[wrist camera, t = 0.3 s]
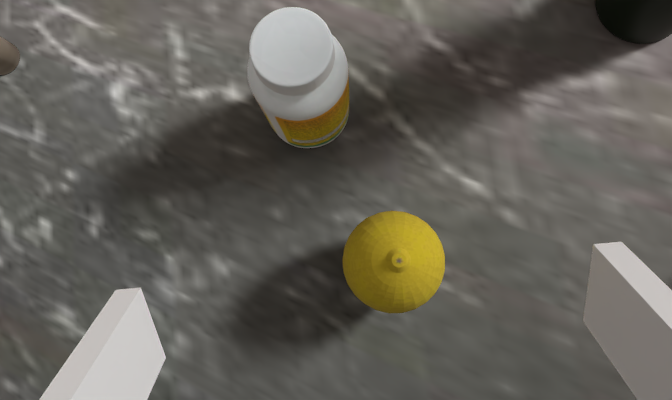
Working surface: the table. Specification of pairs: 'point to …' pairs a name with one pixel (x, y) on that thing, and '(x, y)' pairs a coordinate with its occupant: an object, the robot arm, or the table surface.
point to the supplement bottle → (299, 77)
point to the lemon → (393, 262)
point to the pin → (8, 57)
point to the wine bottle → (637, 19)
